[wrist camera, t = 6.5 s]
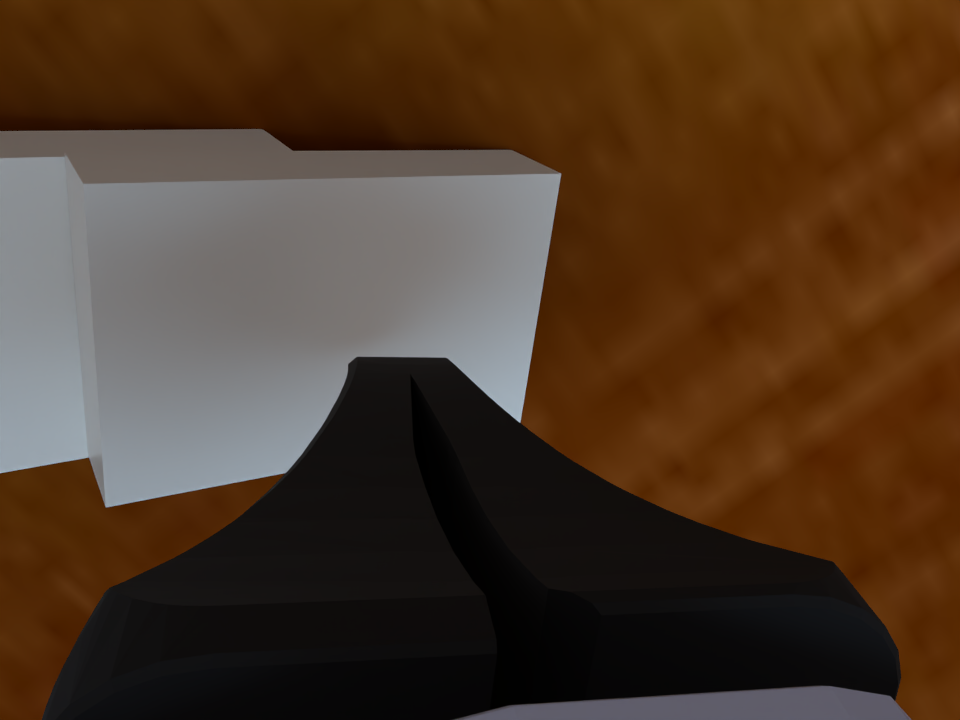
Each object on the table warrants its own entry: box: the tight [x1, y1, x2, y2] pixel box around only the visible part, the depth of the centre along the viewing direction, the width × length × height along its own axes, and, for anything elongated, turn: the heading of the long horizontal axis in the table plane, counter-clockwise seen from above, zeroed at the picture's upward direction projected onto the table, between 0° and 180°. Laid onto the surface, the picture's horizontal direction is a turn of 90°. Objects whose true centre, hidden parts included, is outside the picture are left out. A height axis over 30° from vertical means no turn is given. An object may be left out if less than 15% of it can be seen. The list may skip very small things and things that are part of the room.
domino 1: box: [0, 129, 292, 473], centre depth 14 cm, size 2×5×8 cm
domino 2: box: [65, 150, 561, 507], centre depth 15 cm, size 2×5×8 cm
